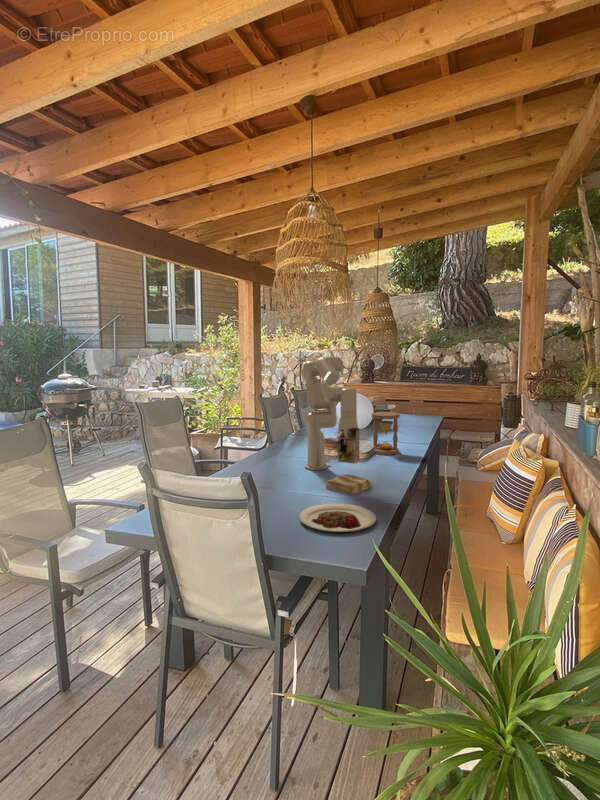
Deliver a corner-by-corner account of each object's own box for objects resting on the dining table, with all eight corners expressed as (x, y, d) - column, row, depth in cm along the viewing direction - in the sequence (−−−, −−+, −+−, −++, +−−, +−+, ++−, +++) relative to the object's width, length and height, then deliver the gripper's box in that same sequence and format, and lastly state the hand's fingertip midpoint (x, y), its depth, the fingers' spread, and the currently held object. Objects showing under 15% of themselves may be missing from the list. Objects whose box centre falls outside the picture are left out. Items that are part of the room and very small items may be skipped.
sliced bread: (345, 481, 239) (345, 474, 238) (370, 487, 229) (370, 479, 228) (326, 488, 228) (326, 480, 227) (351, 494, 218) (351, 486, 217)
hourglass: (403, 451, 306) (404, 413, 304) (391, 456, 293) (391, 416, 290) (379, 448, 317) (379, 411, 314) (366, 452, 304) (366, 414, 301)
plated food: (315, 504, 206) (315, 496, 205) (383, 513, 194) (383, 505, 194) (287, 528, 178) (286, 520, 178) (364, 541, 167) (364, 531, 166)
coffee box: (337, 462, 225) (337, 428, 224) (341, 459, 231) (341, 426, 230) (355, 463, 221) (355, 429, 220) (359, 460, 227) (360, 427, 226)
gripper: (353, 411, 233) (353, 447, 235) (330, 415, 220) (331, 453, 222) (365, 413, 228) (365, 449, 230) (343, 417, 215) (343, 455, 217)
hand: (348, 450), depth 226 cm, fingers closed on coffee box, 7 cm apart
